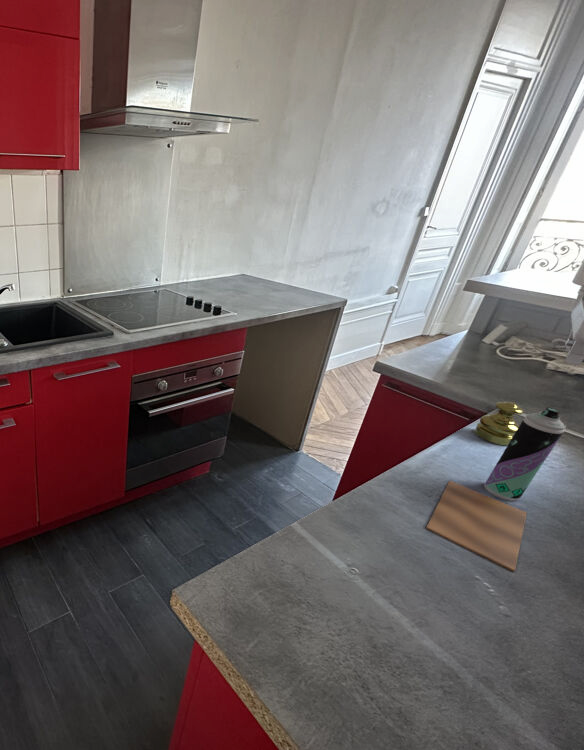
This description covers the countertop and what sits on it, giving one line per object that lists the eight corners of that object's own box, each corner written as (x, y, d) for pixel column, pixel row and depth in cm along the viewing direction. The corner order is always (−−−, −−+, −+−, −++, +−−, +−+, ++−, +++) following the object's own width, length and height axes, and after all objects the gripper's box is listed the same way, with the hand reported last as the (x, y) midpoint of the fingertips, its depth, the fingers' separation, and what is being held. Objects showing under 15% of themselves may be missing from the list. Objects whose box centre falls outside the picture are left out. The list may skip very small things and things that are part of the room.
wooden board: (448, 481, 88) (449, 480, 88) (526, 514, 80) (527, 512, 80) (425, 528, 76) (426, 526, 76) (513, 572, 68) (515, 570, 68)
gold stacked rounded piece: (466, 427, 107) (484, 394, 103) (497, 430, 107) (516, 397, 102) (487, 444, 101) (507, 409, 96) (520, 447, 100) (542, 412, 96)
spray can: (478, 486, 87) (526, 405, 78) (492, 480, 89) (541, 400, 80) (510, 504, 82) (565, 419, 73) (524, 497, 84) (580, 414, 75)
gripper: (657, 291, 58) (602, 379, 64) (640, 271, 70) (595, 346, 76) (590, 283, 62) (544, 366, 68) (585, 266, 74) (547, 337, 80)
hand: (571, 355), depth 72 cm, fingers open, 8 cm apart
